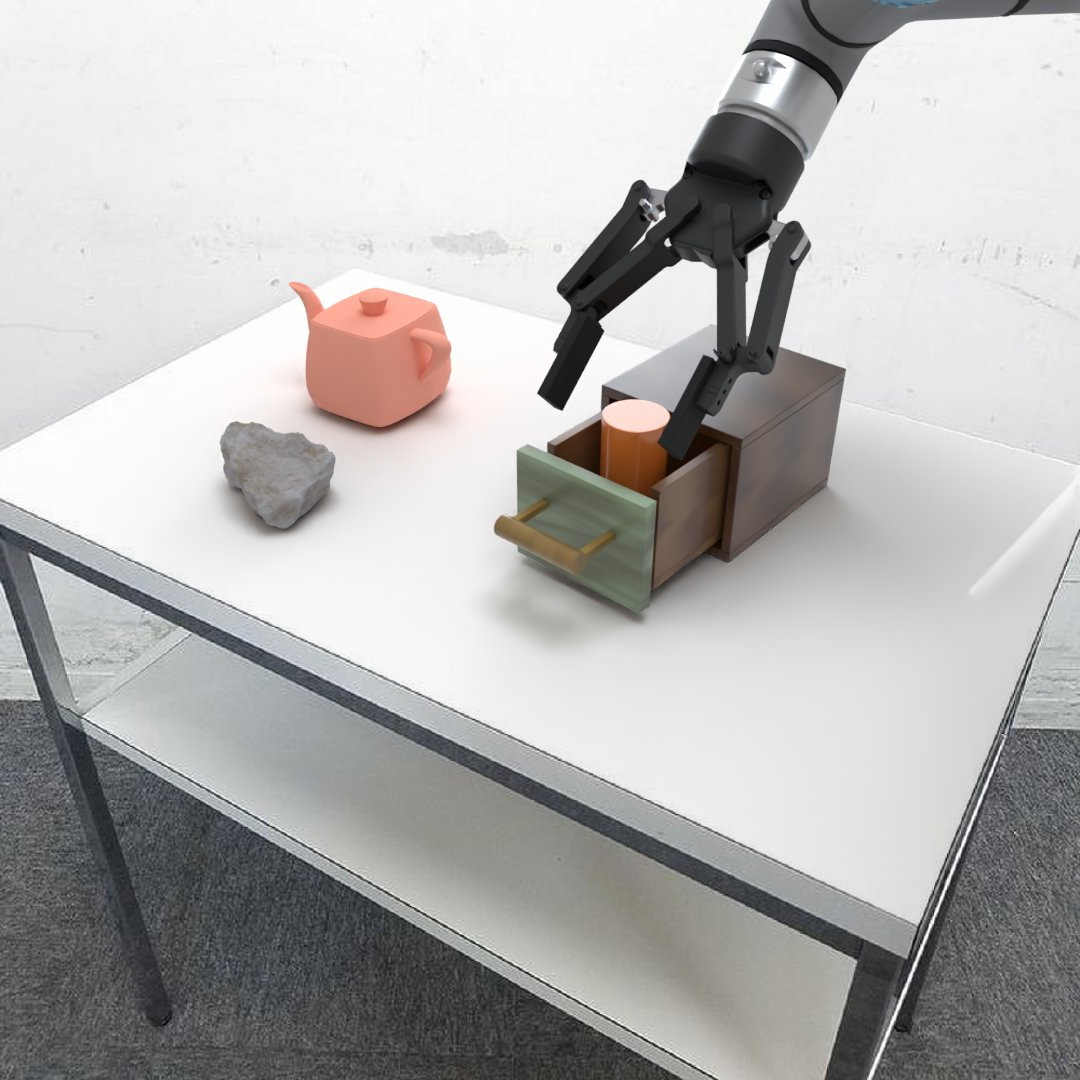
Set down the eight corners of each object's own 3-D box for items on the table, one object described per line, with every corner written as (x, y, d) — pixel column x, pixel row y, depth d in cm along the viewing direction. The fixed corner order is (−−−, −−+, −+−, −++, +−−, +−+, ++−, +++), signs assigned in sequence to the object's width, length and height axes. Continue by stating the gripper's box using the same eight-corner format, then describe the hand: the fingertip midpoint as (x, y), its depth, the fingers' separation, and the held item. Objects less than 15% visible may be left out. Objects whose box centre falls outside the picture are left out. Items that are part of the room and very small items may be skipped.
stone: (192, 505, 95) (179, 442, 92) (263, 462, 101) (253, 401, 97) (283, 543, 91) (274, 478, 88) (352, 496, 96) (345, 433, 93)
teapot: (414, 451, 102) (406, 340, 96) (260, 397, 110) (244, 292, 104) (490, 398, 110) (487, 293, 104) (341, 352, 118) (331, 252, 112)
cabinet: (728, 562, 89) (742, 439, 83) (597, 502, 96) (601, 384, 90) (827, 484, 98) (846, 368, 92) (701, 434, 105) (711, 323, 99)
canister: (674, 531, 89) (684, 413, 83) (635, 560, 86) (642, 439, 80) (624, 508, 91) (629, 392, 86) (584, 535, 88) (587, 416, 83)
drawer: (596, 648, 79) (599, 540, 74) (472, 580, 85) (468, 476, 80) (746, 531, 91) (758, 431, 86) (628, 479, 97) (632, 383, 92)
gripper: (608, 79, 84) (461, 355, 84) (895, 140, 72) (727, 463, 71) (649, 138, 91) (512, 396, 90) (919, 203, 79) (765, 501, 78)
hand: (607, 426), depth 81 cm, fingers open, 10 cm apart
